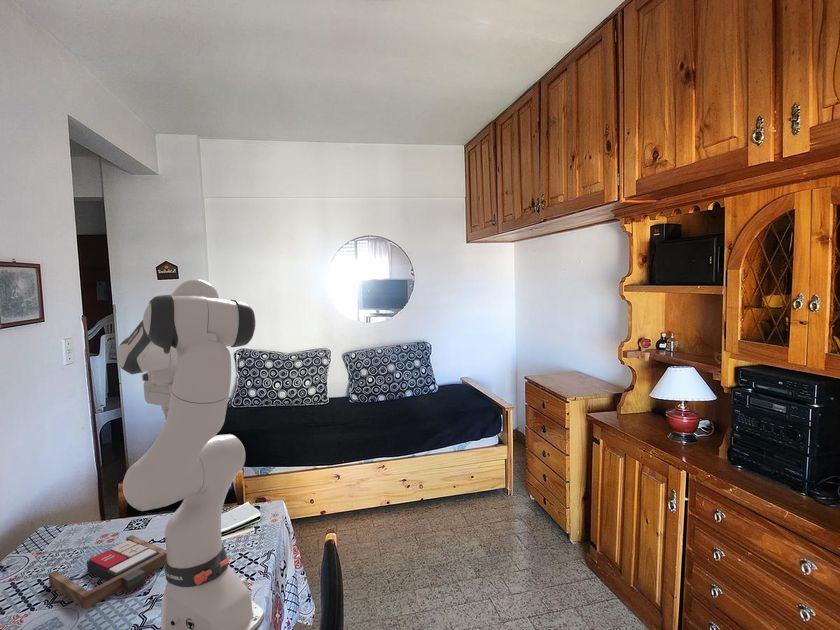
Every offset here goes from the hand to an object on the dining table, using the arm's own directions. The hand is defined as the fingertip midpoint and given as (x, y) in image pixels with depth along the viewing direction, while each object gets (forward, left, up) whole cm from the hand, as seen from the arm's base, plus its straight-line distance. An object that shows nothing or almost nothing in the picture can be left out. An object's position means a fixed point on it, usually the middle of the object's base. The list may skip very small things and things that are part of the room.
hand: (170, 420), depth 137 cm
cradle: (-7, +21, -34) cm, 41 cm away
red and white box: (-5, +18, -35) cm, 40 cm away
